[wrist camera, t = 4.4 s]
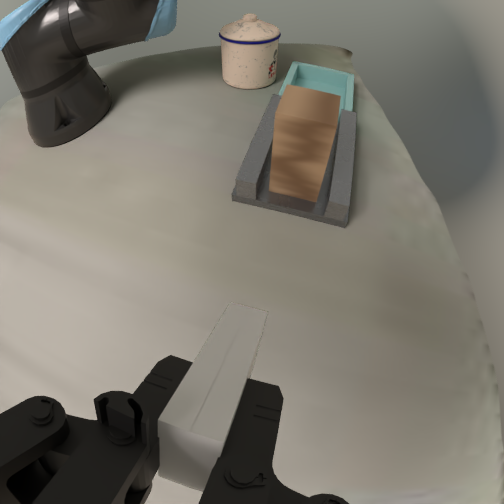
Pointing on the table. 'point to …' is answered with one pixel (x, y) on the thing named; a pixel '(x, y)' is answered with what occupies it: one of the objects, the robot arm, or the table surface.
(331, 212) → the slot board
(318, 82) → the tray
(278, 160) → the block
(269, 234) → the table surface
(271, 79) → the teacup with lid
